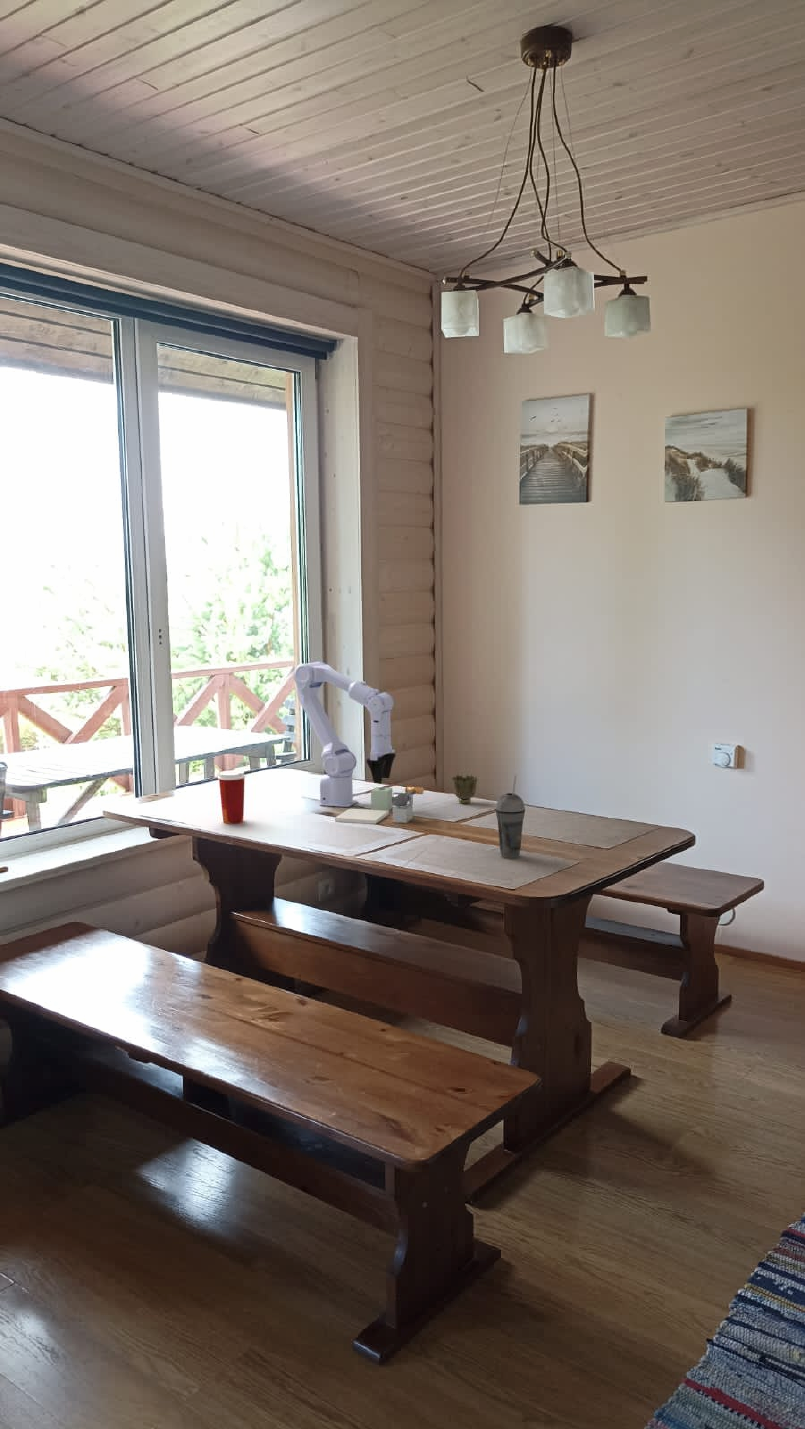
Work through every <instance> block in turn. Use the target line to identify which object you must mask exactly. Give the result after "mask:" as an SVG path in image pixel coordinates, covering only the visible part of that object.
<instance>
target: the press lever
mask: <svg viewBox="0 0 805 1429" xmlns="http://www.w3.org/2000/svg"><path fill="white" fill-rule="evenodd" d="M424 792H425V791H424V787H423V786H420V787H419V786H418V787H417V786H406V787H405V788H404V792H392V805H393V807H395V806H407V804H409V796H411V795H413V796H414V795H423V794H424Z"/></svg>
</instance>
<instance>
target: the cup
mask: <svg viewBox="0 0 805 1429" xmlns="http://www.w3.org/2000/svg"><path fill="white" fill-rule="evenodd" d="M477 782H478V777H476V776H473V775H472V774H471V775H468V774H467V775H466V776H465V777H463V775H456V776H455V775H454V776H453V777H452V785H453V786H452V787H453V792H454V795H455V797H457V799H458V803H459V804H460V805H469V804H470V803H471V802H472V800H471V799H472V798H473V797H474V796H475V794H476V791H477Z"/></svg>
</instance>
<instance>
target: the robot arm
mask: <svg viewBox="0 0 805 1429" xmlns="http://www.w3.org/2000/svg"><path fill="white" fill-rule="evenodd" d="M292 678H293V681H294V682H295V684H296V692H297V693H296V694H297V698H298V701H299V703H300V705H301V707H302V709H303V711H304V713H305V716H306V717H307V719H308V721H309V723H310V725H311V728H312V729H313V731H314V733H315V735H316V737H317V739H318V741H319V743H320V746H321V747H322V749H323V750H322V752H321V755H320V757H321V759H322V763H323V764H322V765H323V769H324V772H325V773H326V774H323V775H322V776H321V778H320V782H319V794H320V795H319V798H320V800H319V801H320V803H319V806H326V807H327V806H328V807H340V808H342V807H343V808H349V807H352V806H353V805H354V804H356V803H357V802H358V800H357V799H353V798H354V797H353V796H354V795H353V794H354V792H353V790H354V788H353V774H354V770H355V768H356V766H357V761H358V760H357V757H356V755H355V753H353V751H351V750H350V749H349V747H348V745H346V743H343V742H342V741H341V740H340V739H339V737H338V734H337V733H336V731H335V729H334V726H333V725H332V722H331V721H330V718H329V717H328V715H327V713H326V711H325V709H324V707H323V705H322V702H321V701H320V699H319V697H318V694H319V690H320V689H321V687H322V686H323V685H324V683H325V682H326V683H328V684H331V685H332V686H335V687H337V688H339V689H341V690H343V691H345V692H347V693H348V696H349V698H350V699H351V700H353V701H355V702H356V703H359V704H360V705H362V706H363V707H366V710H367V711H368V712H369V714H370V716H369V717H370V734H371V735H370V736H371V737H370V738H371V739H370V740H371V741H370V742H371V745H370V746H371V749H370V753H369V758H366V764H367V766H368V768H369V770H370V772H371V776H372V777H371V778H372V781H373V783H374V784H382V782H383V779H389V778H390V777H391V771H392V766H393V764H394V760H395V759H396V757H397V755H396V754H397V753H395V752H396V750H395V749H394V748H393V745H392V739H391V738H392V736H391V735H392V733H391V732H392V731H391V727H392V726H391V711H392V710H393V708H394V706H395V704H394V703H395V702H394V698H393V696H392V695H391V694H389V692H385V691H384V692H381V693H380V690H379V689H378V688H373V687H371V686H369V685H368V684H367V682H366V681H365V680H361V681H360V680H358V681H355V682H354V681H352V680H351V679H350V678H347V676H345V675H343V674H342V673H340V672H339V671H337V670H335V669H334V668H332V667H331V665H329V664H327V663H325V662H323V661H321V660H320V661H318V660H317V661H314V662H308V663H299V664H298V665H297V666H296V667H295V670H294V673H293V676H292ZM392 748H393V749H392Z"/></svg>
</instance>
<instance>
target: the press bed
mask: <svg viewBox="0 0 805 1429" xmlns="http://www.w3.org/2000/svg"><path fill="white" fill-rule="evenodd" d="M389 814H390V810H389V811H385V810H371V809H367V808H366V809H364V808H349V807H348V809H346V810H345V811H343V812H342V813H341V814H339V815H337V816H336V817H334V822H339V823H340V822H341V823H354V824H355V823H356V824H368V825H369V824H370V825H372V824H373V825H376V824H377V823H379V822H381V821H382V820H383V819H384V818H386V817H387V816H388V815H389Z"/></svg>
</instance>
